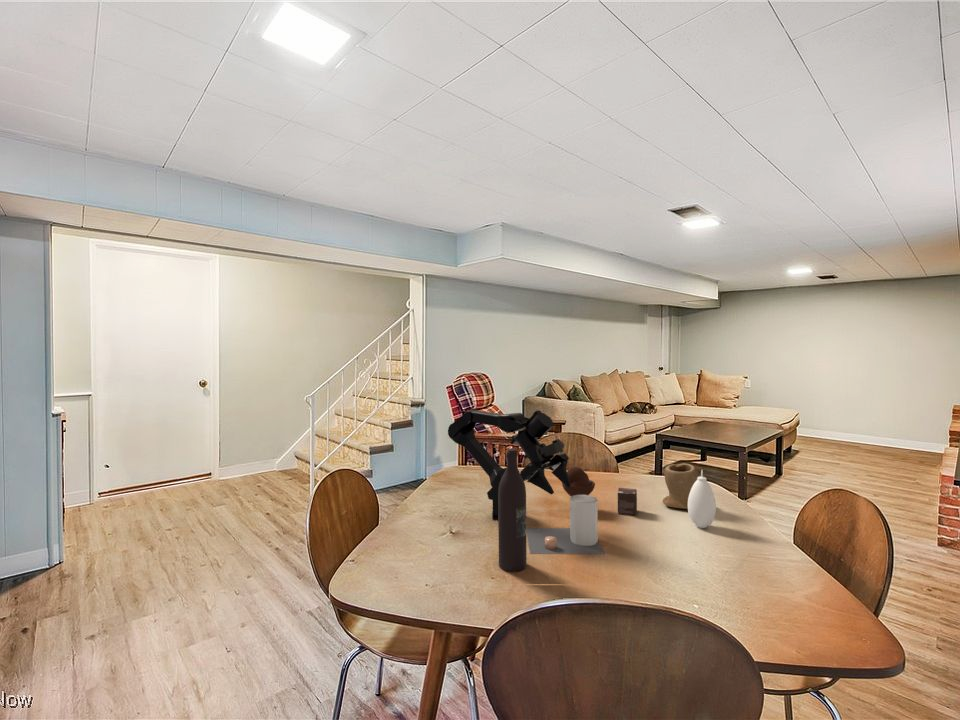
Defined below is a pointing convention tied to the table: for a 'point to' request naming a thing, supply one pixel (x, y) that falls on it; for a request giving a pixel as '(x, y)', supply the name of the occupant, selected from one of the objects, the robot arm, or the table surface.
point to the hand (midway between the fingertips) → (561, 489)
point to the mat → (558, 542)
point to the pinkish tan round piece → (551, 543)
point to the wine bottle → (512, 517)
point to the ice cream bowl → (578, 482)
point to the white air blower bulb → (701, 503)
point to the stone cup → (679, 484)
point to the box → (627, 501)
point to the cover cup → (584, 520)
